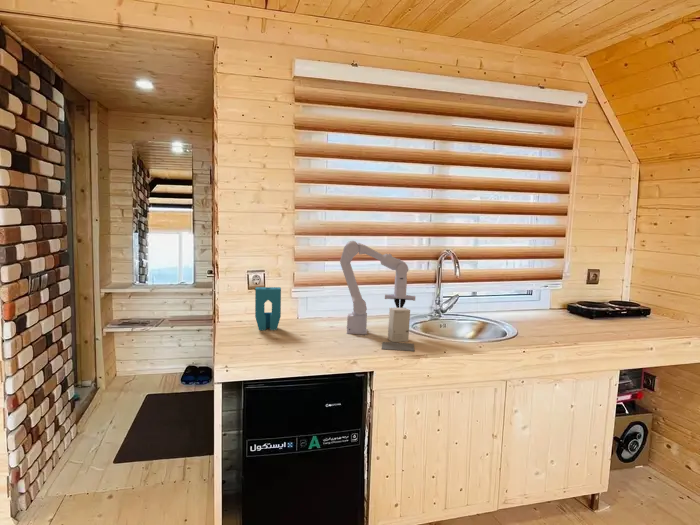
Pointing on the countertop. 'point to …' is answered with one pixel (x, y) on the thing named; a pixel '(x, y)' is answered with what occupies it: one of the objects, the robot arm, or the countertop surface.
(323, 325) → the countertop surface
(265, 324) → the block
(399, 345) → the mat
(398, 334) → the skincare box
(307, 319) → the countertop surface
